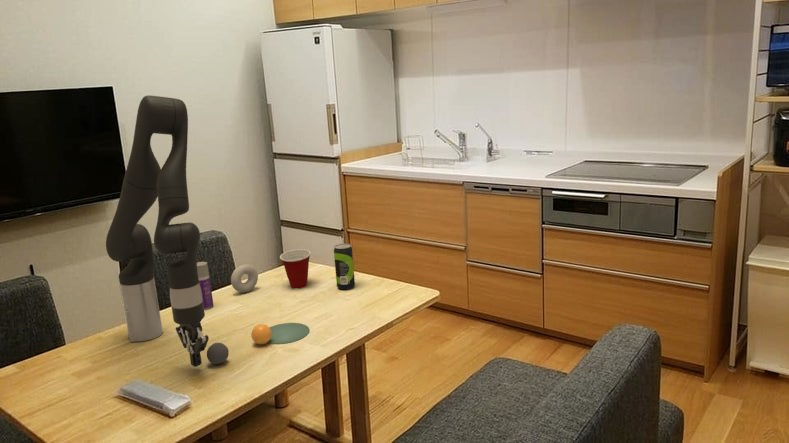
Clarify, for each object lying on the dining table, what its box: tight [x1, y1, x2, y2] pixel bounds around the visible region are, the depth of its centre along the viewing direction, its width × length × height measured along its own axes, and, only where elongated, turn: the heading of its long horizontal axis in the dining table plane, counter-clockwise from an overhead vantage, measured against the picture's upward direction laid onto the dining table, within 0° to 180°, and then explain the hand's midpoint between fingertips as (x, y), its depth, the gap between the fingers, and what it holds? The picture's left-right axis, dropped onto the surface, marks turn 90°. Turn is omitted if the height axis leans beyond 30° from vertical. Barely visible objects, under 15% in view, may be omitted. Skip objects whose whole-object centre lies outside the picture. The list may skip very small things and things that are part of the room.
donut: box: [230, 263, 259, 294], centre depth 209 cm, size 10×4×10 cm, turn 133°
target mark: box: [266, 322, 310, 345], centre depth 174 cm, size 14×14×1 cm
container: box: [197, 261, 214, 311], centre depth 196 cm, size 5×5×15 cm
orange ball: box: [250, 324, 272, 345], centre depth 168 cm, size 6×6×6 cm
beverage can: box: [333, 243, 356, 291], centre depth 207 cm, size 6×6×15 cm
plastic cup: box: [279, 248, 312, 289], centre depth 211 cm, size 11×11×12 cm
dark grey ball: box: [206, 342, 230, 365], centre depth 158 cm, size 6×6×6 cm
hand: (196, 364), depth 155 cm, fingers closed
